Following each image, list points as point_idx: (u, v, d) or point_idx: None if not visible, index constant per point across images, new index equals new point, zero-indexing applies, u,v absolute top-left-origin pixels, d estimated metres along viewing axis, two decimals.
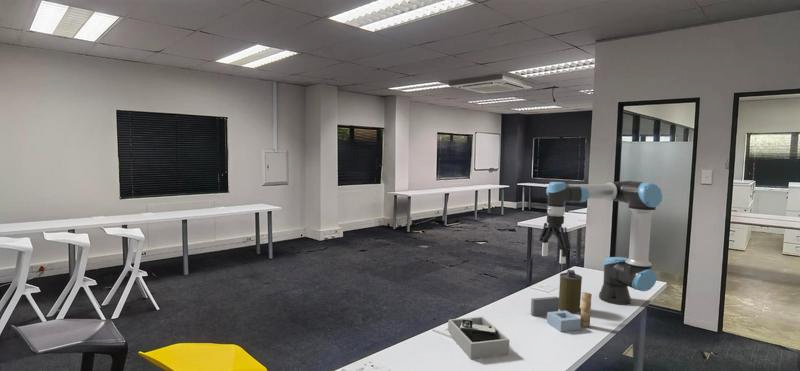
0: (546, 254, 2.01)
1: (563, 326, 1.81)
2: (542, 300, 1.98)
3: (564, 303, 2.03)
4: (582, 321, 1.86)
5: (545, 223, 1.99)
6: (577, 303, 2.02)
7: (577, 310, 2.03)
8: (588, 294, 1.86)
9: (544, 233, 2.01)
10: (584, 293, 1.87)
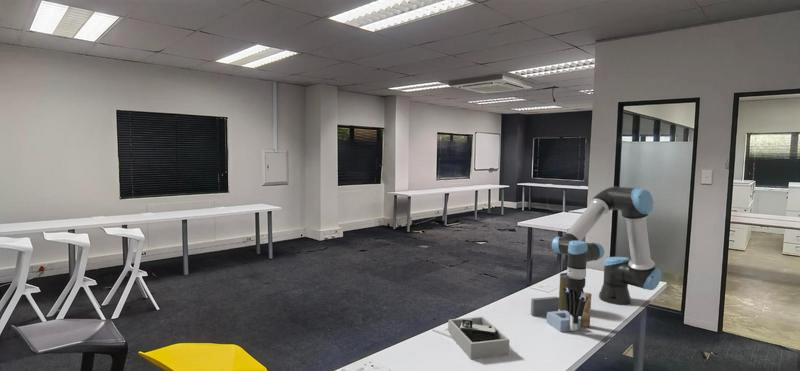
0: None
1: (563, 326, 1.81)
2: (542, 300, 1.98)
3: (564, 303, 2.03)
4: (582, 321, 1.86)
5: (564, 288, 1.84)
6: None
7: None
8: (588, 294, 1.86)
9: (568, 300, 1.82)
10: (584, 293, 1.87)
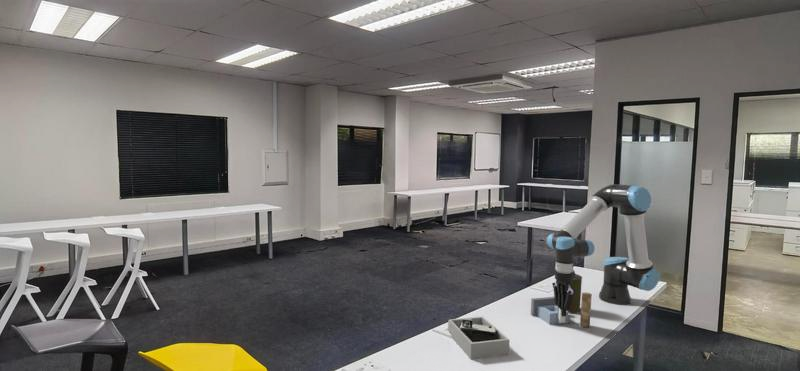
0: None
1: (552, 319, 1.89)
2: (542, 300, 1.98)
3: None
4: (582, 321, 1.86)
5: None
6: (577, 303, 2.02)
7: (577, 310, 2.03)
8: (588, 294, 1.85)
9: (557, 294, 1.90)
10: (584, 293, 1.87)
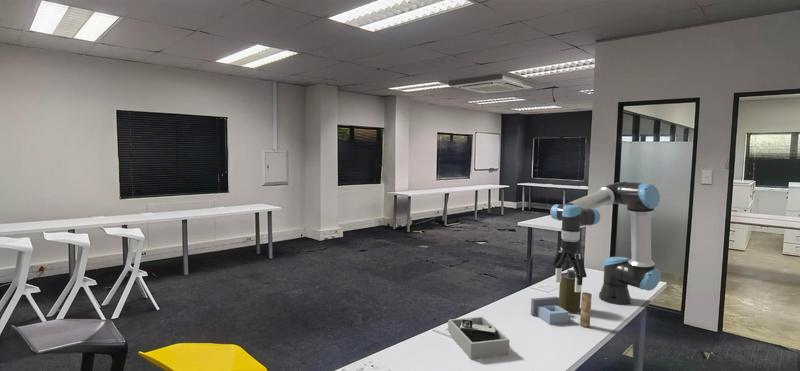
0: (560, 280, 1.91)
1: (552, 319, 1.89)
2: (542, 300, 1.98)
3: (564, 303, 2.03)
4: (582, 321, 1.86)
5: (559, 248, 1.88)
6: (577, 303, 2.02)
7: (577, 310, 2.03)
8: (588, 294, 1.85)
9: (557, 258, 1.90)
10: (584, 293, 1.87)
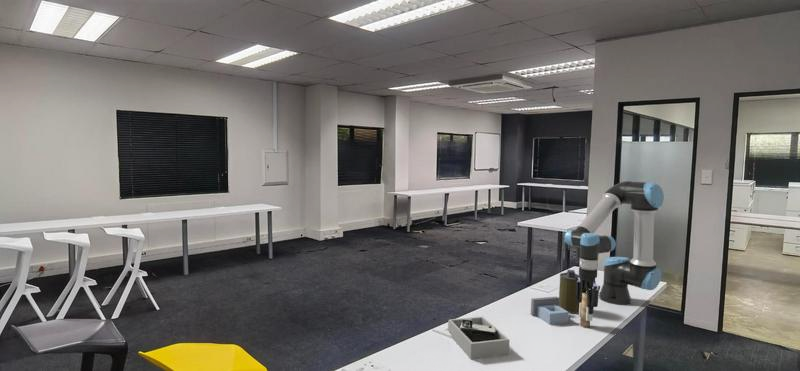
0: None
1: (552, 319, 1.89)
2: (542, 300, 1.98)
3: (564, 303, 2.03)
4: (582, 321, 1.86)
5: (576, 278, 1.91)
6: (577, 303, 2.02)
7: (577, 310, 2.03)
8: None
9: (579, 289, 1.91)
10: (584, 292, 1.87)
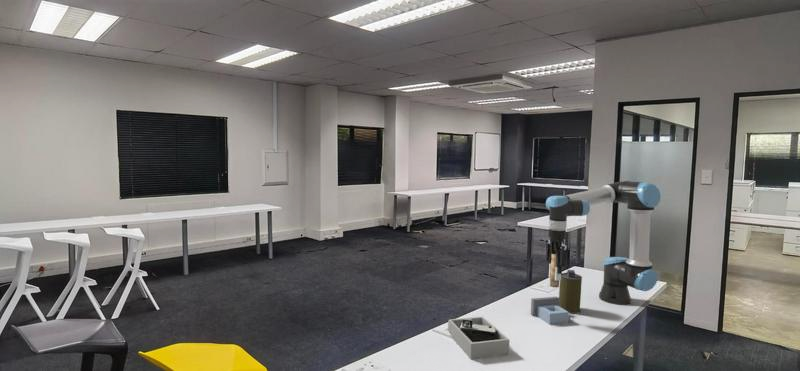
0: None
1: (552, 319, 1.89)
2: (542, 300, 1.98)
3: (564, 303, 2.03)
4: (551, 281, 1.92)
5: (546, 240, 1.97)
6: (577, 303, 2.02)
7: (577, 310, 2.03)
8: None
9: (549, 251, 1.96)
10: (553, 254, 1.93)
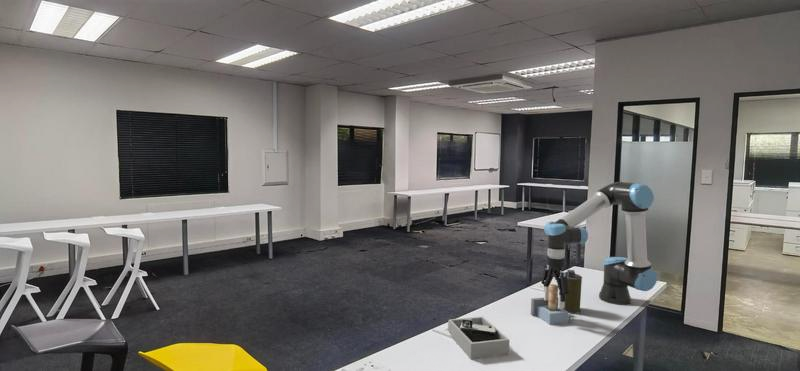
0: (548, 298, 1.98)
1: (552, 319, 1.89)
2: (542, 300, 1.98)
3: (564, 303, 2.03)
4: None
5: (545, 265, 1.98)
6: (577, 303, 2.02)
7: (577, 310, 2.03)
8: (555, 286, 1.92)
9: (545, 276, 1.99)
10: (551, 284, 1.94)
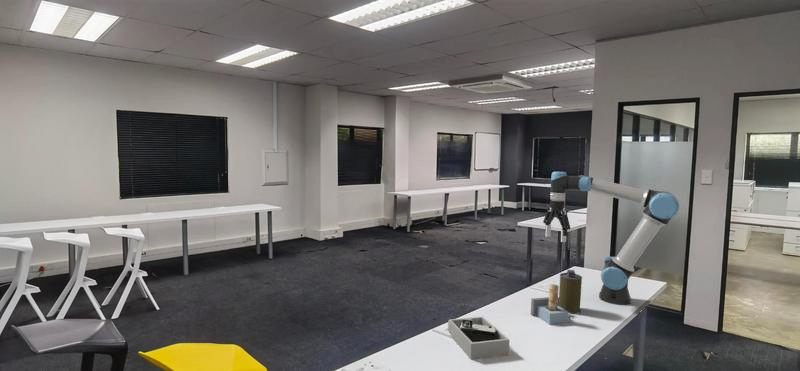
0: (549, 235, 2.30)
1: (552, 319, 1.89)
2: (542, 300, 1.98)
3: (564, 303, 2.03)
4: None
5: (548, 208, 2.28)
6: (577, 303, 2.02)
7: (577, 310, 2.03)
8: (555, 286, 1.92)
9: (547, 216, 2.30)
10: (551, 284, 1.94)
